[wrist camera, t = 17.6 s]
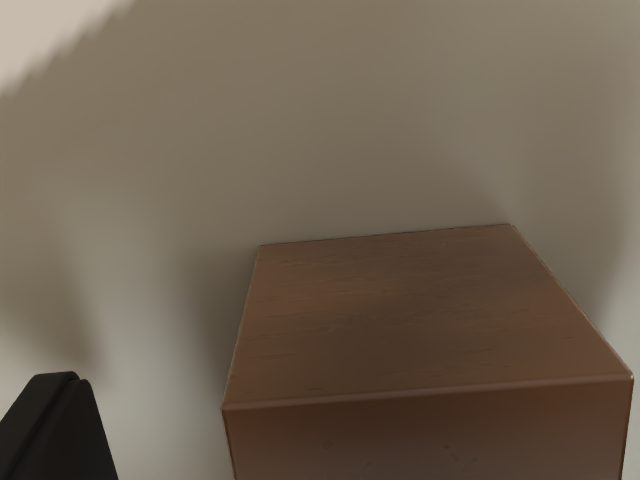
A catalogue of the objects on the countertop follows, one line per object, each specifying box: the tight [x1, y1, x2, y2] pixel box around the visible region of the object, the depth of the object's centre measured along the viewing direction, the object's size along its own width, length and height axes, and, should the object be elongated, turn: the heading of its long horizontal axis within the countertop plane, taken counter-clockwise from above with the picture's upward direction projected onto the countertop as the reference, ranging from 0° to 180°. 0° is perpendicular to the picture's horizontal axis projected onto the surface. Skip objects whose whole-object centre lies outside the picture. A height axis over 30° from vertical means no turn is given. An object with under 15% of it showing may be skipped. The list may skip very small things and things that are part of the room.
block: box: [220, 224, 634, 480], centre depth 10 cm, size 5×5×5 cm
